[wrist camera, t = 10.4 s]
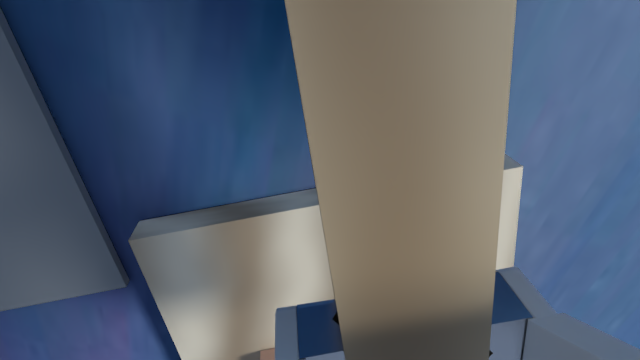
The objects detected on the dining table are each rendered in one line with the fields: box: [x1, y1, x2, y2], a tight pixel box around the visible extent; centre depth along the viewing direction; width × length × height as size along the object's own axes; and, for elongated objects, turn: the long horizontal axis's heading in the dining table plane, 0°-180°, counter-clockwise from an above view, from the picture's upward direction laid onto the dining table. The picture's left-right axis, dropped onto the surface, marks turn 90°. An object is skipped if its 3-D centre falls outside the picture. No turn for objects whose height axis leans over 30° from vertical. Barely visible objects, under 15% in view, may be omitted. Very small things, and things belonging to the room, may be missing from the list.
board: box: [128, 154, 523, 360], centre depth 28 cm, size 22×24×2 cm
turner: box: [284, 0, 517, 360], centre depth 9 cm, size 6×20×3 cm, turn 8°
